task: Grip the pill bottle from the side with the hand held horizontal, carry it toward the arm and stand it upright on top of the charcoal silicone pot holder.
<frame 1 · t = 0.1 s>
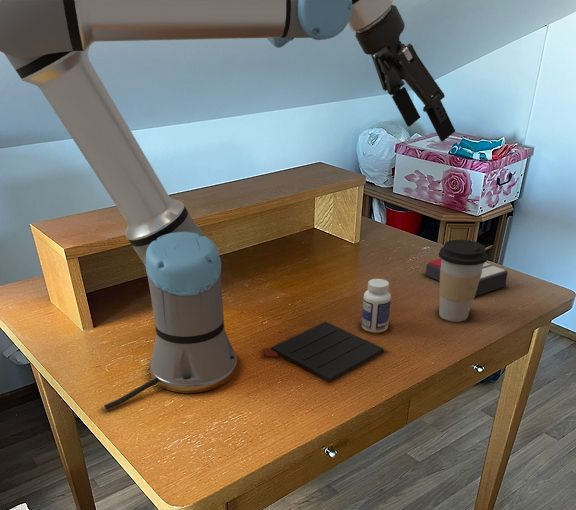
hand: (430, 128, 109), 36 cm above the table, tool tilted 35°, fingers open, 13 cm apart
pill bottle: (374, 328, 121), on the table
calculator: (464, 281, 140), on the table
coffee cup: (452, 316, 125), on the table
pot holder: (327, 351, 113), on the table
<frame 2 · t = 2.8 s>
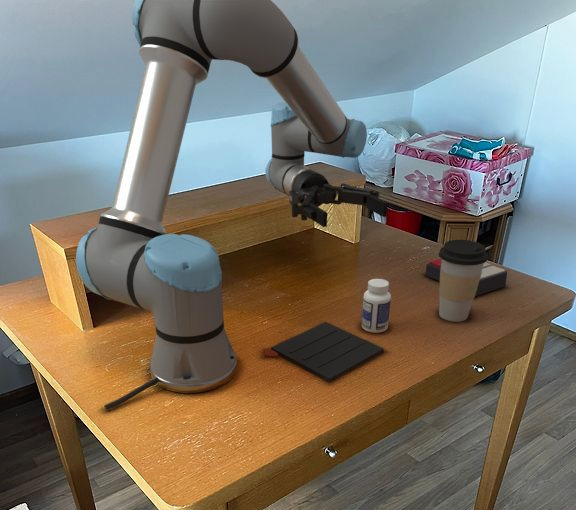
hand: (356, 214, 117), 20 cm above the table, tool horizontal, fingers open, 13 cm apart
nothing on the table moved.
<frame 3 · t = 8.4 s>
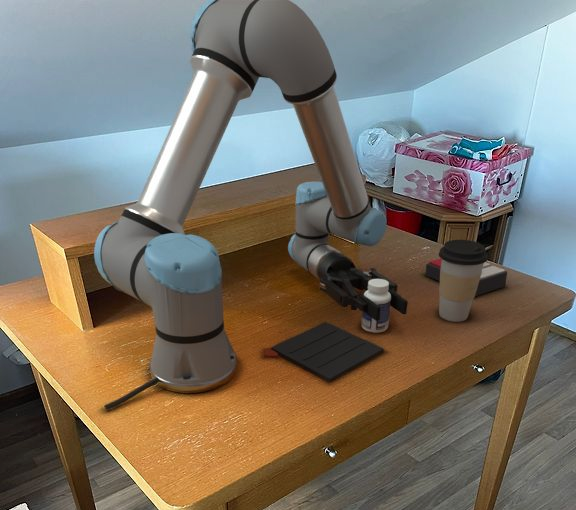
hand: (391, 310, 114), 6 cm above the table, tool horizontal, fingers closed on pill bottle, 5 cm apart
pill bottle: (374, 328, 121), on the table, touching gripper
everything else where it was.
when the fingers open (7 cm above the table, at t = 16.0 s): pill bottle stays where it is, resting on pot holder.
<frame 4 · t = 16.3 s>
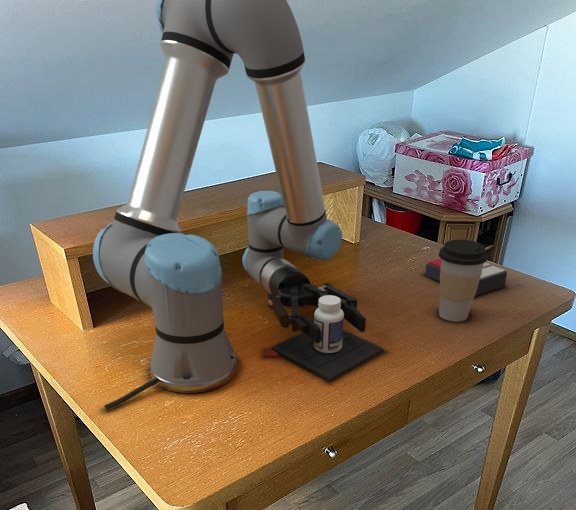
hand: (341, 330, 106), 7 cm above the table, tool horizontal, fingers open, 8 cm apart
pill bottle: (327, 347, 112), point 1 cm above the table, touching pot holder
everything else where it was.
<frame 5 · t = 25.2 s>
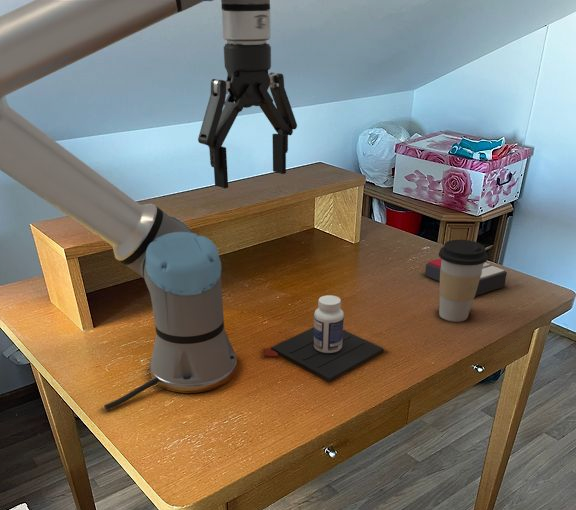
hand: (251, 179, 107), 29 cm above the table, tool pointing down, fingers open, 13 cm apart
nothing on the table moved.
at the end: pill bottle inside the target area on the pot holder (0.1 cm from its centre), point 0.8 cm above the pot holder's base; pill bottle tilted 0°; the gripper is holding nothing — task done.
